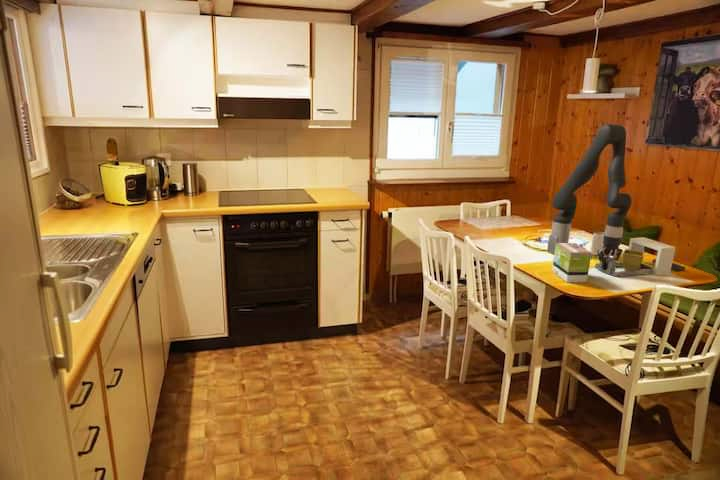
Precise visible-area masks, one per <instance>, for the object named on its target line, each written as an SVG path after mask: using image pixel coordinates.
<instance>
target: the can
mask: <svg viewBox="0 0 720 480" xmlns="http://www.w3.org/2000/svg"><path fill="white" fill-rule="evenodd" d="M604 232H605V231H604ZM604 232H603V231H594V233H593V234H592V238H591V239H592V240H591V246H590V250H589V251H590V252H592V253H591V256H592V255H593V256H597V257H598V252H597V251H598V250H601V249H602V248H603V246H604V244H603V238H604Z"/></svg>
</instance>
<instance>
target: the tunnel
mask: <svg viewBox="0 0 720 480" xmlns="http://www.w3.org/2000/svg"><path fill="white" fill-rule="evenodd" d="M628 243H629V244H628V250H634V251H640V252H645V247H647V248H649V249H653V250H655V251H657V254H656V258H655V259H656V263H654V267H653V272H652V274H653V275H654V276H662V275H670V274H671V272H672V271H671V270H672V269H671V267H672V263H674V256H675V253H676V246H673V245H671V244H666V243H663V242H660V241H658V240H655V239H650V238H647V237H643V236H642V237H633V238H632V237H631V238H630V239H629V242H628Z"/></svg>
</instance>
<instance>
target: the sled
mask: <svg viewBox="0 0 720 480" xmlns="http://www.w3.org/2000/svg"><path fill="white" fill-rule="evenodd" d="M605 260H606V258H605ZM601 267H602V261H599V262H598V263H595V264H594V268H596V269H597V270H598V271H600V272H603V273H604V274H608V275H611V276H614V277H617V278H619V277H628V276H637V275H649V274H653V273H654V266H652V265H649V264H647V263H644V262H642V263H641V265H640V267H639V269H638V270H630V271H628V270H622V271H616V268H617V267H623V266H622V260H621V261H617V260H615V259H613V258H609V259H608V262H607V268H606V270H602V268H601Z"/></svg>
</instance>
